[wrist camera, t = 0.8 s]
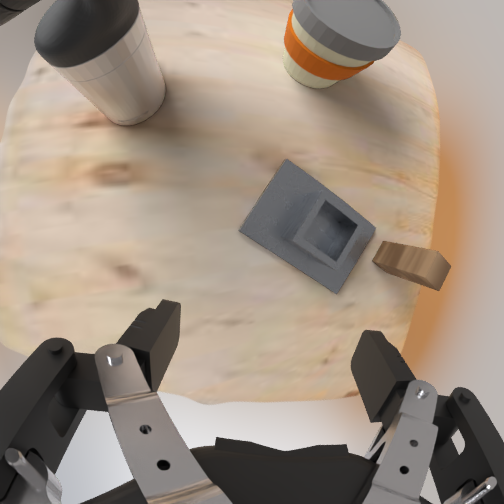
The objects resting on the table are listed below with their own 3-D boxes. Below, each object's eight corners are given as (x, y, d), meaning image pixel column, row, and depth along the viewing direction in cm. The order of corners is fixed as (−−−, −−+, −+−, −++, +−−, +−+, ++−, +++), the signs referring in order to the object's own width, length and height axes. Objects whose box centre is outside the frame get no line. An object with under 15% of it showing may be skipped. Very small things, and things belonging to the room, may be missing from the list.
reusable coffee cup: (332, 114, 35) (390, 71, 20) (255, 71, 32) (278, 4, 18) (358, 62, 34) (409, 17, 19) (291, 23, 32) (322, -37, 17)
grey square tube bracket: (238, 230, 35) (244, 233, 29) (284, 160, 35) (299, 148, 28) (333, 292, 38) (354, 306, 31) (372, 227, 38) (398, 230, 31)
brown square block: (372, 260, 38) (425, 277, 26) (383, 241, 38) (438, 251, 26) (386, 272, 39) (439, 291, 27) (397, 253, 39) (451, 266, 27)
